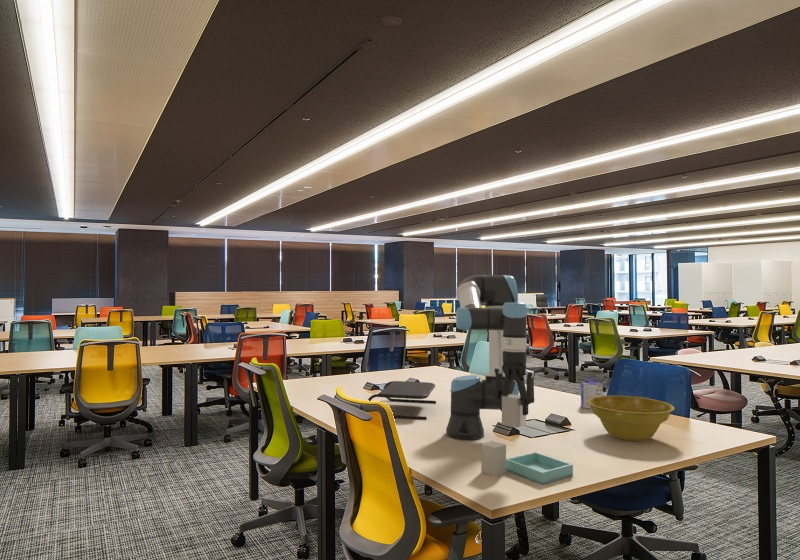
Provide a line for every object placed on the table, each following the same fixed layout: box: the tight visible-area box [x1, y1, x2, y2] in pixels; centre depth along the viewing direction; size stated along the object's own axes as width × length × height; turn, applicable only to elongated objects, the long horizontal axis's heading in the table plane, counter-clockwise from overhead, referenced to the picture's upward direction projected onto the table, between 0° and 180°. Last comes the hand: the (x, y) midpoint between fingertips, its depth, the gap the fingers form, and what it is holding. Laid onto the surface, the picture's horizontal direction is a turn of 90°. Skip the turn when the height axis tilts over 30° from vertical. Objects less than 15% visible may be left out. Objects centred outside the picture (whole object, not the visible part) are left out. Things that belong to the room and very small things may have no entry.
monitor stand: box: [367, 380, 437, 421], centre depth 259 cm, size 37×28×11 cm
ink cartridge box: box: [580, 377, 604, 409], centre depth 269 cm, size 10×6×14 cm, turn 89°
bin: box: [506, 451, 574, 485], centre depth 170 cm, size 15×14×4 cm
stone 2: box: [501, 394, 522, 428], centre depth 170 cm, size 6×6×9 cm
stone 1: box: [480, 440, 507, 478], centre depth 170 cm, size 6×6×9 cm
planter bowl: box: [587, 395, 676, 442], centre depth 215 cm, size 32×32×13 cm
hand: (514, 423), depth 170 cm, fingers closed on stone 2, 5 cm apart
